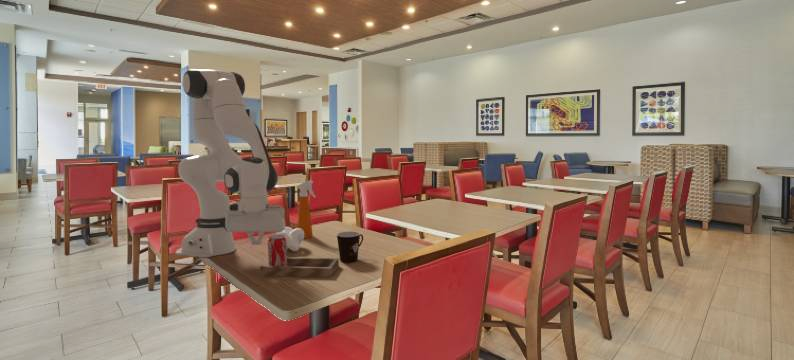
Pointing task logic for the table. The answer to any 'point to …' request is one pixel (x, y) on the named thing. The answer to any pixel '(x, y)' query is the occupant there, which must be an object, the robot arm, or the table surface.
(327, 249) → the table surface
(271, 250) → the beverage can
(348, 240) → the coffee mug
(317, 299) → the table surface
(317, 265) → the wooden tray
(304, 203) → the spray bottle
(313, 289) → the table surface
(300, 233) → the white lumpy piece
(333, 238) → the table surface
